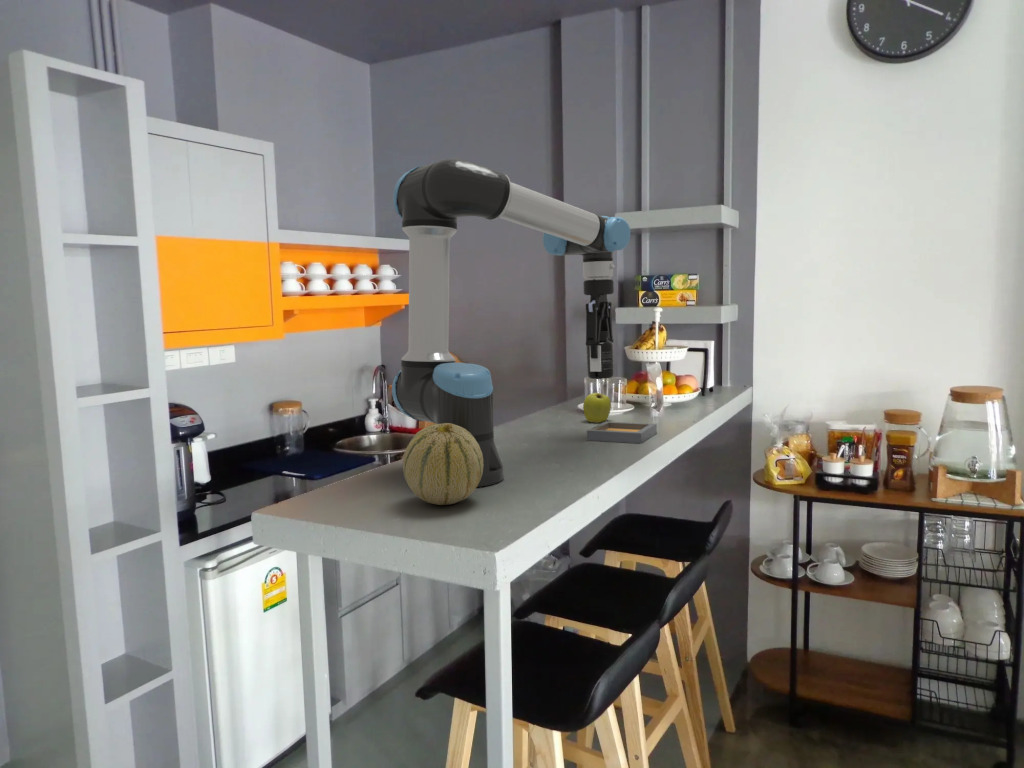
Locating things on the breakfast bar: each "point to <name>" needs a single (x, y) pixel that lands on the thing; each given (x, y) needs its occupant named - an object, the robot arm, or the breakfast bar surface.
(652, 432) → the grey square tray
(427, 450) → the cantaloupe
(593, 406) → the apple
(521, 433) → the breakfast bar surface
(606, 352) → the supplement bottle
